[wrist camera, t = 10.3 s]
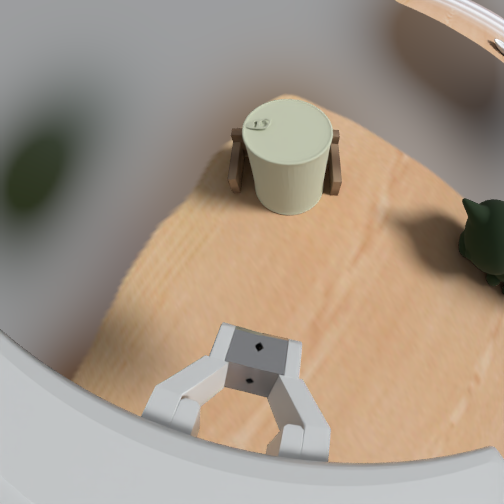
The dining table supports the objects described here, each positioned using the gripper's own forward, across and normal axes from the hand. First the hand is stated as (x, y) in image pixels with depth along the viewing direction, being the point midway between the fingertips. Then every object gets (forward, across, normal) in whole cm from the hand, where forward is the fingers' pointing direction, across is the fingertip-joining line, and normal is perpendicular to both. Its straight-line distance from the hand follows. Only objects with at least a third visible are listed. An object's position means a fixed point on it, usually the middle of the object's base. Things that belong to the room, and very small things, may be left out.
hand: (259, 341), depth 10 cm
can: (+29, 0, +4) cm, 29 cm away
